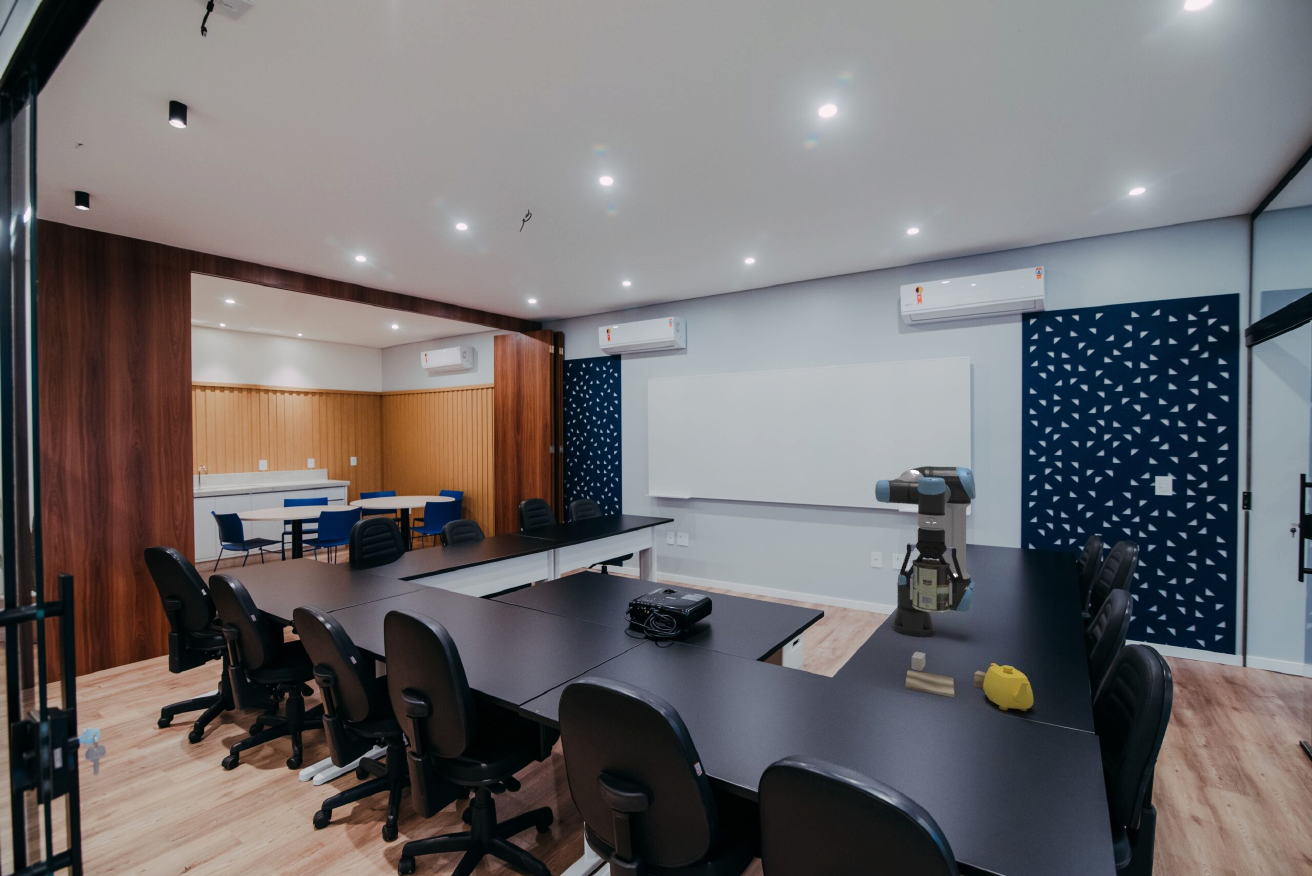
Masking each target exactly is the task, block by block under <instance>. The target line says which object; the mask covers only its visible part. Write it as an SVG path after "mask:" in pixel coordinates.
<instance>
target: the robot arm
mask: <svg viewBox="0 0 1312 876" xmlns="http://www.w3.org/2000/svg"><path fill="white" fill-rule="evenodd" d="M874 488H875V489H874V490H875V491H874V493H875V499H876V501H877V502H878V503H879V502H880V503H886V504H889V503H890V504H905V505H917V526H918V528H917V542H916V543H914V544H913V543H910V542H909V543H907V544H906V553H905V556H904V559H903V563H902V566H901V568H900V570H899V571H900V572H899V574H898V575H897V583H896V585H897V602H896V603H897V606H896V607H897V609H896V612H895V614H894V618H893V620H892V629H893V630H894V631H895V632H896V633H899V634H902V635H906V636H911V637H918V638H919V637H922V638H928V637H932V636H934V635H935V634H936V632H935V630H936V629H935V624H934V620H933V617H932V616H931V612H925V611H920V610H918V609H915V608H914V607H913V564H912V565H911V566H910V568H909V569H908V570H906V569H907V567H908V563H909V561H910V560H909V559H910V558H911V553H912V552H914V551H915V549H916V550H917V551H918V552H919V554H918V555H917V558H915V560H916V561H915V562H921V561H922V559H932V560H939V561H940V562H941V564H942V565H947V563H949V564H950V567H949V611H954V612H964V613H967V612H970V610H972V609H971V608H972V605H973V600H974V595H975V589H976V588H975V587H976V582H975V581H973V580H972V579H971V575H970V574H969V572H967V508H968V507H969V506H970V505H972V500H975V499H976V495H977V494H976V483H975V477H974V475H973V472H972V470H971V469H970V468H968V467H960V466H931V465H930V466H927V465H926V466H919V467H915V468H911V469H908V470H906V471H903V472H902V473H901V475H900V476H899V477H897V478H894V479H893V480H889V479H879V480H877V482H876V484H875V487H874ZM946 562H947V563H946Z"/></svg>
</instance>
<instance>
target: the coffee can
mask: <svg viewBox="0 0 1312 876" xmlns="http://www.w3.org/2000/svg"><path fill="white" fill-rule="evenodd" d="M915 561H916V559H913V560H912V561H911V562H912V565H913V607H914V608H915V609H918V610H920V611H925V612H930V614H931V613H934V614H945V613H948V612H950V610H949V567H950V564H949V563H947V562H946V563H947V565H942V564H941V562H940V561H939V559H937V560H936V559H931V558H930V559H925V558H923V559H922V561H921V562H915Z"/></svg>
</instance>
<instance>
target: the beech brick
mask: <svg viewBox="0 0 1312 876" xmlns="http://www.w3.org/2000/svg"><path fill="white" fill-rule="evenodd" d="M986 673H987V672H984V671H982V670H981V671H980V670H976V671H975V672H974V681H973V682H974V683H973V684H974V685H973V686H974V687H975V688H976V687H977V688H979V689H983V683H984V678H985V675H986Z"/></svg>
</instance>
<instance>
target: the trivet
mask: <svg viewBox="0 0 1312 876" xmlns="http://www.w3.org/2000/svg"><path fill="white" fill-rule="evenodd" d="M904 688H905V689H908V690H913V691H918V692H922V693H923V692H924V693H929V694H934V695H940V696H944V697H949V698H955V685H954V677H950V676H945V675H940V674H939V675H938V674H933V673H928V672H922V671H918V670H912V669H910V670H909V669H907V672H906V678H905V687H904Z"/></svg>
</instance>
